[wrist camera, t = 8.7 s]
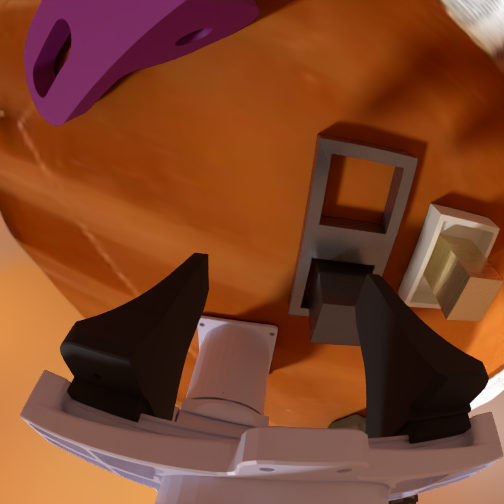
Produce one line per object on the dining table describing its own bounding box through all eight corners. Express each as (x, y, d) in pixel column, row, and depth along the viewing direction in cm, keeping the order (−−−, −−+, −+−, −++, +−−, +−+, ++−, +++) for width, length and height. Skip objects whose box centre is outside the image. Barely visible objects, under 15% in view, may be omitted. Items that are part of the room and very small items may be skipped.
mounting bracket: (124, 105, 24) (282, 11, 13) (50, 141, 19) (186, 1, 8) (92, 33, 20) (225, -86, 8) (17, 57, 14) (123, -111, 3)
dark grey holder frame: (360, 309, 26) (363, 321, 25) (288, 302, 27) (288, 314, 25) (409, 153, 18) (418, 158, 17) (317, 133, 19) (320, 138, 17)
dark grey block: (350, 295, 26) (360, 345, 21) (307, 290, 26) (310, 342, 21) (362, 259, 24) (378, 308, 19) (316, 253, 24) (322, 303, 19)
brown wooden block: (454, 276, 23) (480, 320, 18) (422, 272, 23) (446, 319, 18) (471, 240, 21) (504, 281, 16) (438, 233, 21) (470, 276, 16)
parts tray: (453, 296, 25) (460, 309, 23) (397, 291, 25) (402, 306, 23) (488, 217, 20) (500, 228, 18) (430, 203, 20) (441, 214, 18)
